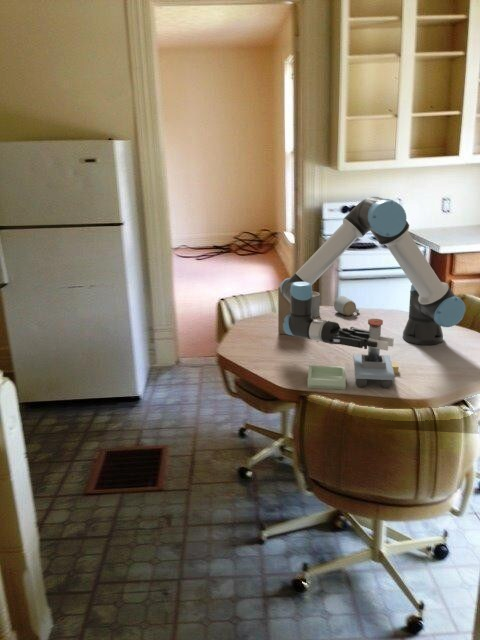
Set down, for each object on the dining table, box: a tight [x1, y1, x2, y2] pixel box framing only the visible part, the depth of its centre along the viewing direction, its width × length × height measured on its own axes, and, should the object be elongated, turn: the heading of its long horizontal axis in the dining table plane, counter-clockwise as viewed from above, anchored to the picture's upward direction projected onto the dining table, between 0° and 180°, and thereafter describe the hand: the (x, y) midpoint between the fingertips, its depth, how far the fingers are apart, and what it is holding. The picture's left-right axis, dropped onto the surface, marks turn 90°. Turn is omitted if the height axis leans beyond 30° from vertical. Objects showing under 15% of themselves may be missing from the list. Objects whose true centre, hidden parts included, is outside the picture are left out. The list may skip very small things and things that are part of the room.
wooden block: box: [277, 281, 291, 335], centre depth 234 cm, size 10×10×20 cm
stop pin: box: [367, 318, 384, 362], centre depth 184 cm, size 5×5×15 cm
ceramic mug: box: [333, 295, 360, 317], centre depth 258 cm, size 11×8×8 cm
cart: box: [353, 353, 399, 389], centre depth 186 cm, size 15×18×7 cm
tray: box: [307, 364, 347, 391], centre depth 186 cm, size 12×12×3 cm
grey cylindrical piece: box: [312, 290, 321, 319], centre depth 258 cm, size 13×10×10 cm
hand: (390, 344), depth 181 cm, fingers closed on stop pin, 3 cm apart
